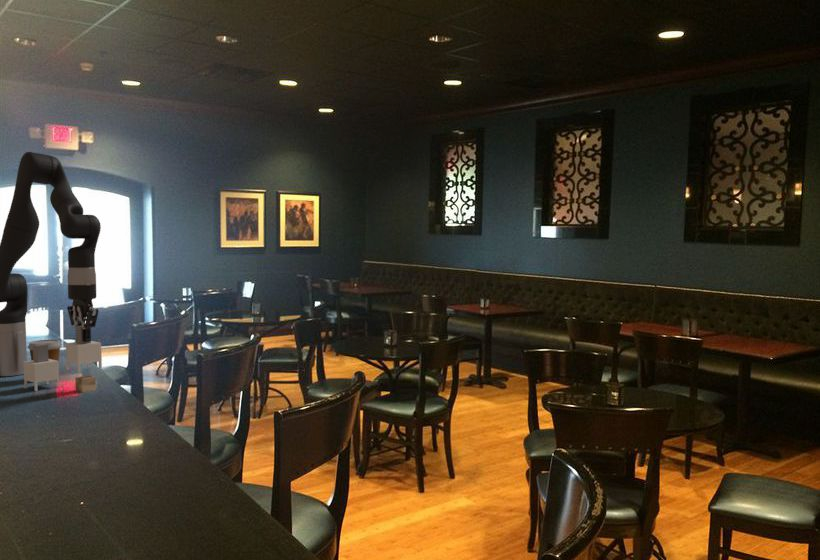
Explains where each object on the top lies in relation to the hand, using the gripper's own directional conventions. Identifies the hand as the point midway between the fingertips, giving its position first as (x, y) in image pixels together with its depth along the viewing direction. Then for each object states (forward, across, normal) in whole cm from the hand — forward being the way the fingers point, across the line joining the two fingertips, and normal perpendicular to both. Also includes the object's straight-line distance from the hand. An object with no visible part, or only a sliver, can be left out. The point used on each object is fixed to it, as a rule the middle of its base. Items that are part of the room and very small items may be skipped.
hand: (83, 340), depth 203 cm
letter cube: (+15, 0, 0) cm, 15 cm away
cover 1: (+15, -14, -6) cm, 21 cm away
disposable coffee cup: (+15, -26, +1) cm, 30 cm away
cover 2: (+9, 0, 0) cm, 9 cm away
